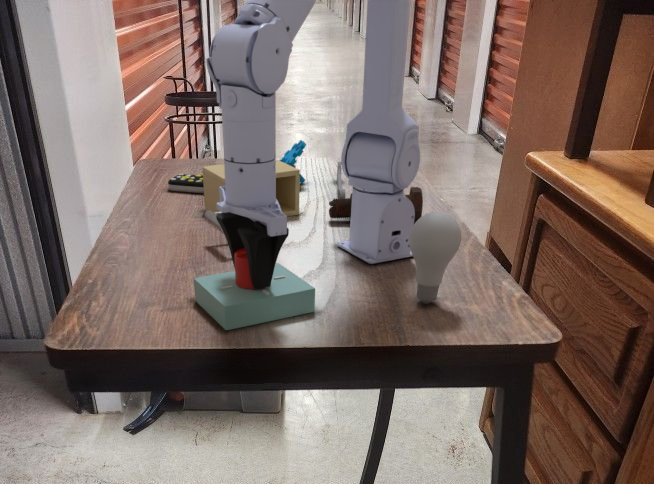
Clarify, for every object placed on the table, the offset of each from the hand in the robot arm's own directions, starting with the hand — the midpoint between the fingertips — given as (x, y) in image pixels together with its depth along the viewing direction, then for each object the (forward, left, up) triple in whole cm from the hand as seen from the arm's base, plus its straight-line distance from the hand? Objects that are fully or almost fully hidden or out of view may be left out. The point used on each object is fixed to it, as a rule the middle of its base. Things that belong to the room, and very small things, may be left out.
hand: (252, 279), depth 81 cm
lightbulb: (-9, -20, -4) cm, 22 cm away
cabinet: (+37, -17, -3) cm, 41 cm away
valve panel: (0, 0, -3) cm, 3 cm away
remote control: (+55, -15, -4) cm, 57 cm away
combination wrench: (+41, -37, -4) cm, 55 cm away
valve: (0, 0, 0) cm, 0 cm away
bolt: (+23, -33, -4) cm, 40 cm away
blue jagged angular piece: (+51, -31, -4) cm, 60 cm away
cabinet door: (+25, -7, -3) cm, 26 cm away
